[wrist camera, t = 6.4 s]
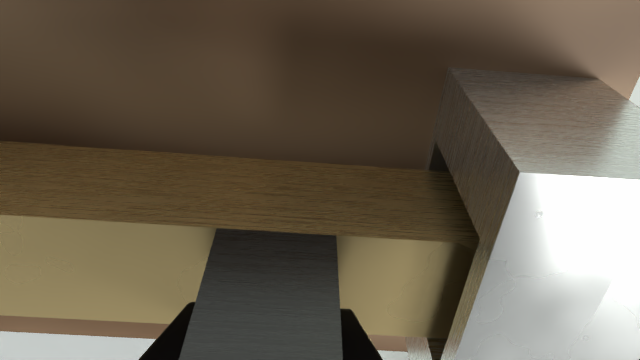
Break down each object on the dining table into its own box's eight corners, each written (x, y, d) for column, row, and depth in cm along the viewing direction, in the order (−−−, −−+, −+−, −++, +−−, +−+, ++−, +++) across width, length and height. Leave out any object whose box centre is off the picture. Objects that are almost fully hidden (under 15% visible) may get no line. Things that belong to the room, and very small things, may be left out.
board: (504, 335, 19) (513, 356, 18) (-406, 288, 18) (-442, 308, 17) (665, -49, 12) (693, -44, 11) (-876, -191, 10) (-982, -197, 9)
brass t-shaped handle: (496, 261, 15) (672, 639, 7) (-293, 214, 13) (-992, 599, 6) (527, 177, 13) (791, 552, 6) (-365, 116, 12) (-1411, 481, 5)
